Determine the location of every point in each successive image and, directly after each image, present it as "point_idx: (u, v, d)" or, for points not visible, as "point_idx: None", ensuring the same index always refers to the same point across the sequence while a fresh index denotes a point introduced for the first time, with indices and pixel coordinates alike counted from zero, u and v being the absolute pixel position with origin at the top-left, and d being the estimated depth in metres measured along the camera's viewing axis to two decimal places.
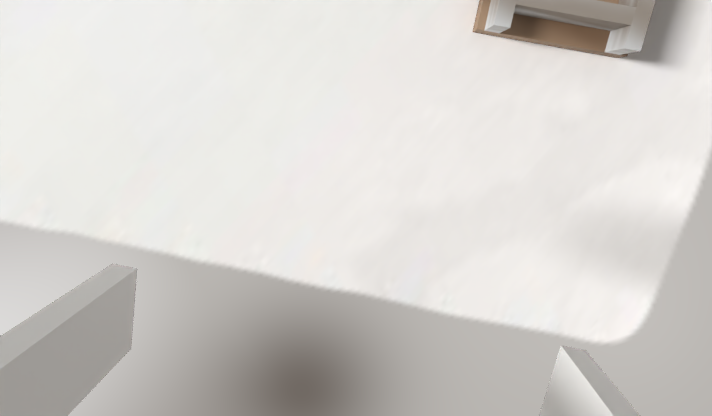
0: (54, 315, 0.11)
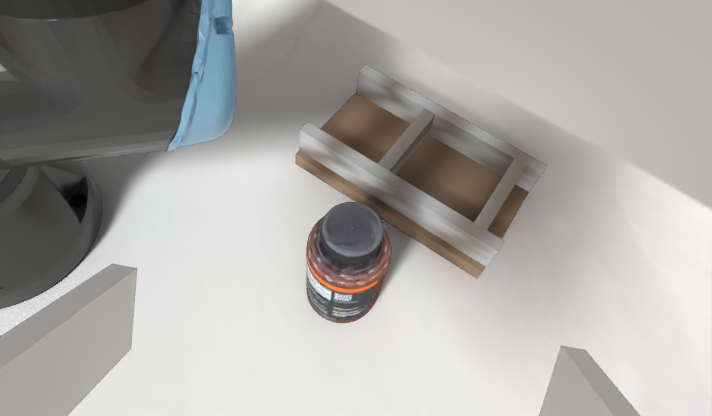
0: (54, 315, 0.11)
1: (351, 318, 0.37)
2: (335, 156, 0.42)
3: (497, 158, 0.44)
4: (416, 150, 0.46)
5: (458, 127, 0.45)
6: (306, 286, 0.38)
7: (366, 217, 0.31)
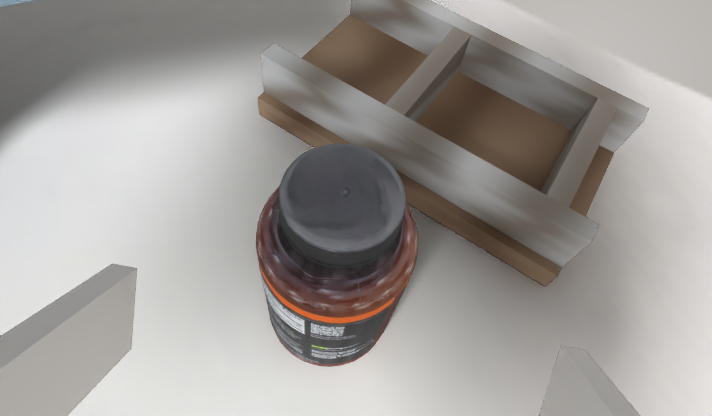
0: (54, 315, 0.11)
1: (345, 359, 0.21)
2: (317, 95, 0.26)
3: (567, 100, 0.29)
4: (441, 93, 0.31)
5: (507, 54, 0.29)
6: None
7: (371, 172, 0.15)
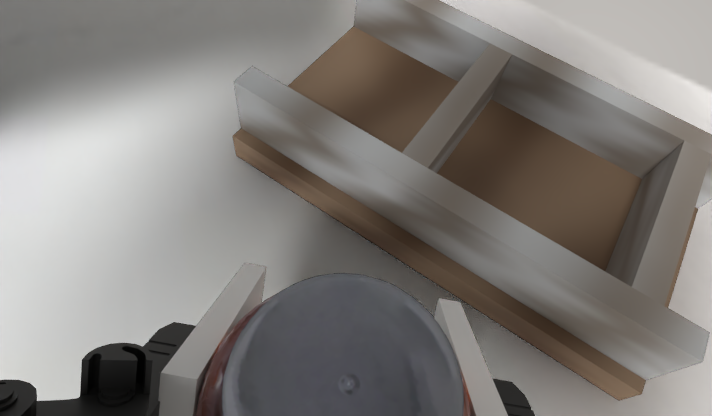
0: (227, 306, 0.13)
1: None
2: (310, 137, 0.20)
3: (640, 142, 0.22)
4: (471, 128, 0.24)
5: (560, 80, 0.22)
6: None
7: (397, 336, 0.08)
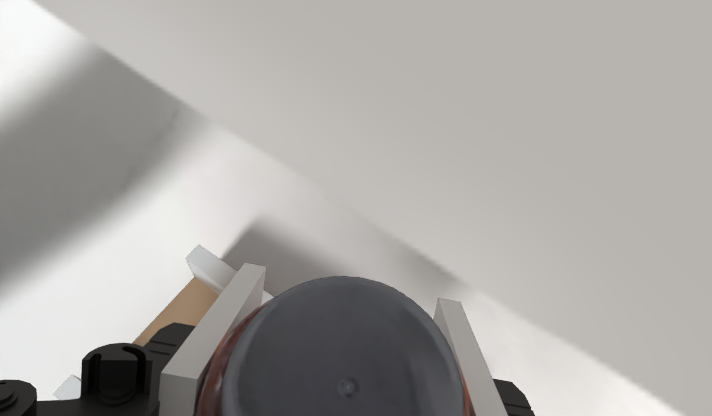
0: (227, 306, 0.13)
1: None
2: None
3: None
4: None
5: None
6: None
7: (397, 340, 0.08)
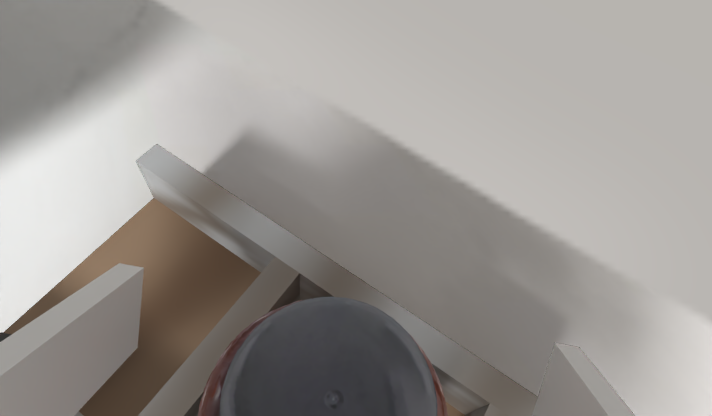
0: (64, 314, 0.11)
1: None
2: None
3: (449, 386, 0.18)
4: None
5: None
6: None
7: (378, 355, 0.09)
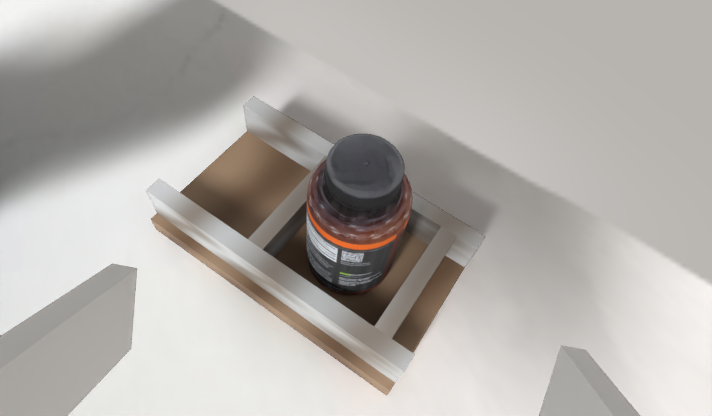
0: (54, 315, 0.11)
1: (362, 287, 0.30)
2: (193, 227, 0.31)
3: (420, 224, 0.33)
4: None
5: None
6: None
7: (382, 151, 0.24)
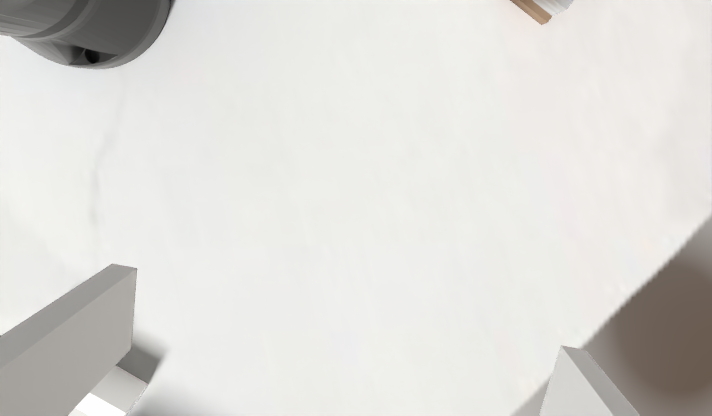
0: (54, 315, 0.11)
1: None
2: None
3: None
4: None
5: None
6: None
7: None
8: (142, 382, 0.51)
